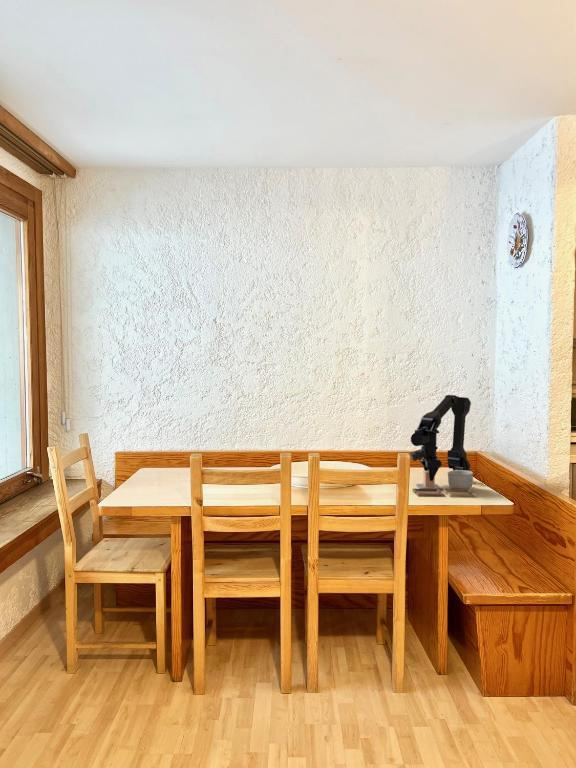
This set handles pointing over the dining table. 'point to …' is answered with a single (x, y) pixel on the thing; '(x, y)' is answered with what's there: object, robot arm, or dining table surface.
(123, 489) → the dining table surface
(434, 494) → the walnut tray
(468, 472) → the teacup
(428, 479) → the letter block
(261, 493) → the dining table surface
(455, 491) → the oak tray
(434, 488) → the slate tile
